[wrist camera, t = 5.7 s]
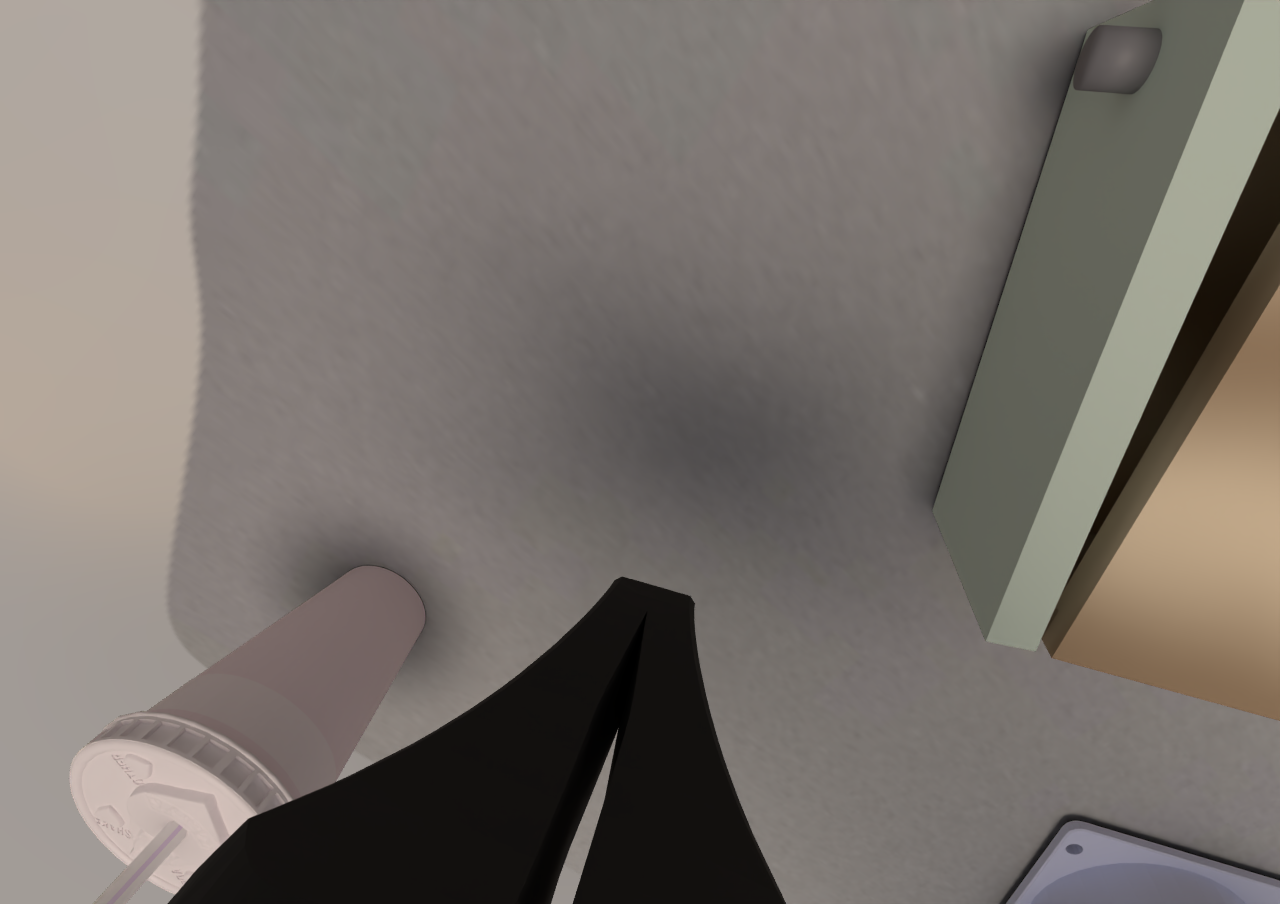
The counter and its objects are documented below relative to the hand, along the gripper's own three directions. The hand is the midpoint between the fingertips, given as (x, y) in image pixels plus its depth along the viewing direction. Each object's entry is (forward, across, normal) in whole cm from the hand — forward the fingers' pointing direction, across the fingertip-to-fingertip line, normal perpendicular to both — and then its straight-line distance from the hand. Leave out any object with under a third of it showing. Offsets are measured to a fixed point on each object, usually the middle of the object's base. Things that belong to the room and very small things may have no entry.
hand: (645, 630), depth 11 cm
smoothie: (+10, +11, +11) cm, 18 cm away
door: (+9, -6, -5) cm, 12 cm away
